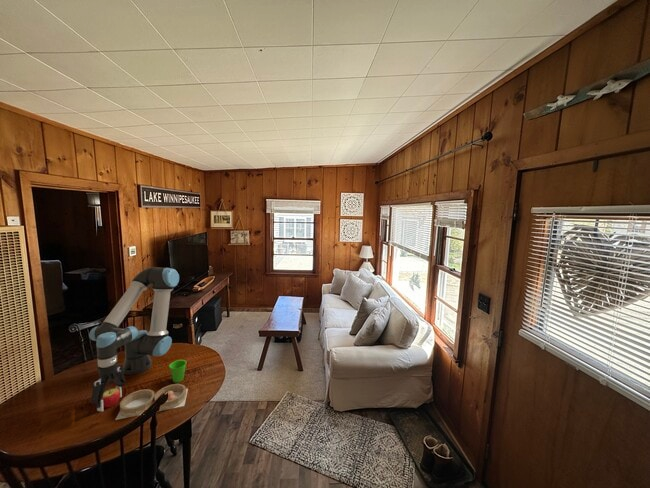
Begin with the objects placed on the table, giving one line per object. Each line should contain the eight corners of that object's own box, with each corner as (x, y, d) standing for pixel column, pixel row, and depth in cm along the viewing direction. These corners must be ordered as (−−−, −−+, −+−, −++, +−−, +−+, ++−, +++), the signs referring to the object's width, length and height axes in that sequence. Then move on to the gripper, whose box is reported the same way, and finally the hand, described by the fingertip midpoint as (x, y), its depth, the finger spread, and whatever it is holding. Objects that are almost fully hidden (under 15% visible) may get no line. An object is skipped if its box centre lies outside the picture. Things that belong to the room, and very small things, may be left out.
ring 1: (119, 404, 131) (118, 397, 130) (151, 392, 140) (151, 385, 140) (122, 421, 121) (121, 413, 120) (157, 407, 130) (156, 399, 130)
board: (115, 422, 122) (115, 419, 121) (125, 401, 135) (125, 399, 134) (184, 408, 132) (184, 405, 132) (188, 390, 145) (188, 388, 145)
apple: (119, 397, 138) (118, 379, 137) (121, 406, 132) (120, 387, 131) (99, 404, 132) (97, 386, 131) (100, 414, 126) (99, 395, 125)
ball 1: (165, 397, 137) (165, 391, 137) (172, 394, 140) (172, 388, 139) (166, 400, 135) (166, 394, 134) (174, 397, 137) (174, 391, 137)
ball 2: (167, 401, 134) (166, 395, 134) (174, 398, 137) (174, 392, 136) (168, 405, 132) (168, 399, 131) (176, 402, 134) (176, 396, 134)
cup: (179, 387, 147) (178, 369, 146) (165, 385, 149) (165, 367, 147) (190, 378, 156) (190, 361, 154) (177, 375, 157) (177, 358, 156)
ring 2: (152, 398, 136) (152, 391, 136) (181, 387, 146) (181, 380, 145) (157, 414, 126) (157, 406, 125) (189, 400, 135) (188, 393, 135)
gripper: (92, 378, 118) (95, 423, 120) (133, 353, 140) (135, 391, 142) (77, 376, 119) (81, 420, 121) (120, 351, 141) (122, 390, 143)
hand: (110, 405), depth 132 cm, fingers open, 9 cm apart
